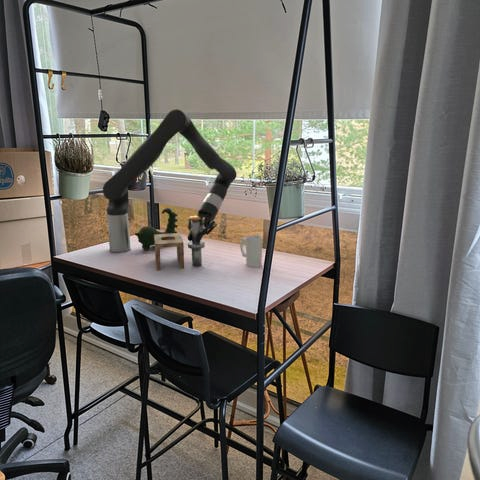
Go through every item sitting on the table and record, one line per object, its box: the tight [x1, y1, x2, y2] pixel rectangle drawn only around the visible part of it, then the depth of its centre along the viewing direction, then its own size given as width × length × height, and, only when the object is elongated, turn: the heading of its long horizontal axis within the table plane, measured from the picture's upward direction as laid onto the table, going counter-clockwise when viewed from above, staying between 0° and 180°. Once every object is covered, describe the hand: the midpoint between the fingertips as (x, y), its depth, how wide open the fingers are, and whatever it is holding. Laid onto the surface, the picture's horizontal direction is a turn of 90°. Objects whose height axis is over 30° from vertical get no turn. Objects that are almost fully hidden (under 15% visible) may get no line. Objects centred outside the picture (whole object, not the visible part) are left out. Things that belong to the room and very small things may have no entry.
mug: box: [239, 234, 263, 268], centre depth 177 cm, size 10×7×12 cm, turn 56°
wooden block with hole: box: [154, 232, 185, 271], centre depth 178 cm, size 11×16×11 cm
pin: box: [187, 215, 206, 268], centre depth 175 cm, size 7×7×20 cm
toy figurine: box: [134, 207, 179, 251], centre depth 203 cm, size 9×19×25 cm
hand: (193, 240), depth 173 cm, fingers closed on pin, 3 cm apart
